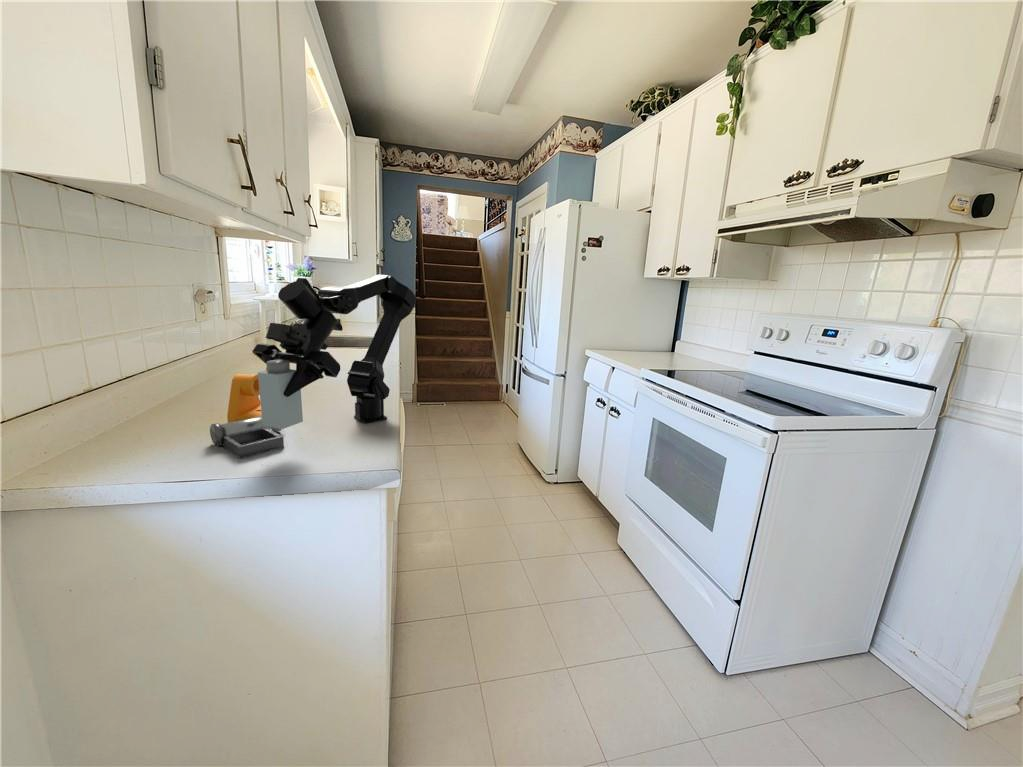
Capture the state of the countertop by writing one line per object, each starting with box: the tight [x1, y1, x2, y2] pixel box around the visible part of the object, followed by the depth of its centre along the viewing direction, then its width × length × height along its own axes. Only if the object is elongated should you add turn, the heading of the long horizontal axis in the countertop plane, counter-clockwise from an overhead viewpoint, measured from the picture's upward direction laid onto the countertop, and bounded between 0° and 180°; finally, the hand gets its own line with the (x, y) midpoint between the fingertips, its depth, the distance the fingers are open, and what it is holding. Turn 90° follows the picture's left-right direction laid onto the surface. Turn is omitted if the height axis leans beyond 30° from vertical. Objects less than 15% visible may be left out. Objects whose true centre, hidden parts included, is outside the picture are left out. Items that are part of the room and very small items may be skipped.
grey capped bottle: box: [257, 360, 304, 430], centre depth 85 cm, size 5×5×13 cm
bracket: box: [226, 373, 262, 423], centre depth 106 cm, size 11×7×12 cm, turn 1°
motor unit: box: [209, 416, 285, 460], centre depth 93 cm, size 13×13×5 cm
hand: (274, 393), depth 84 cm, fingers closed on grey capped bottle, 5 cm apart
